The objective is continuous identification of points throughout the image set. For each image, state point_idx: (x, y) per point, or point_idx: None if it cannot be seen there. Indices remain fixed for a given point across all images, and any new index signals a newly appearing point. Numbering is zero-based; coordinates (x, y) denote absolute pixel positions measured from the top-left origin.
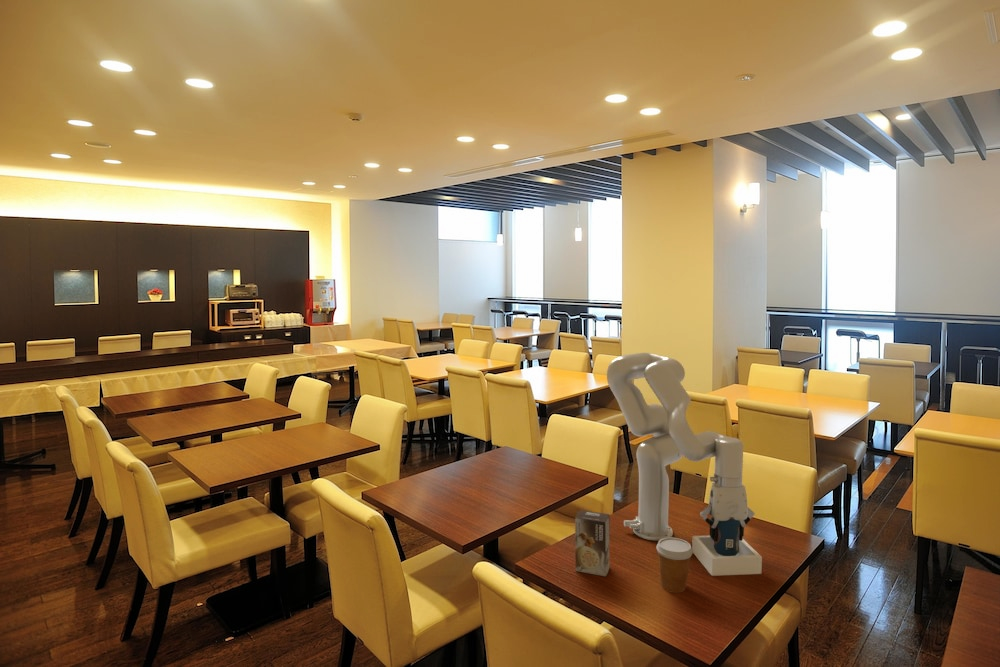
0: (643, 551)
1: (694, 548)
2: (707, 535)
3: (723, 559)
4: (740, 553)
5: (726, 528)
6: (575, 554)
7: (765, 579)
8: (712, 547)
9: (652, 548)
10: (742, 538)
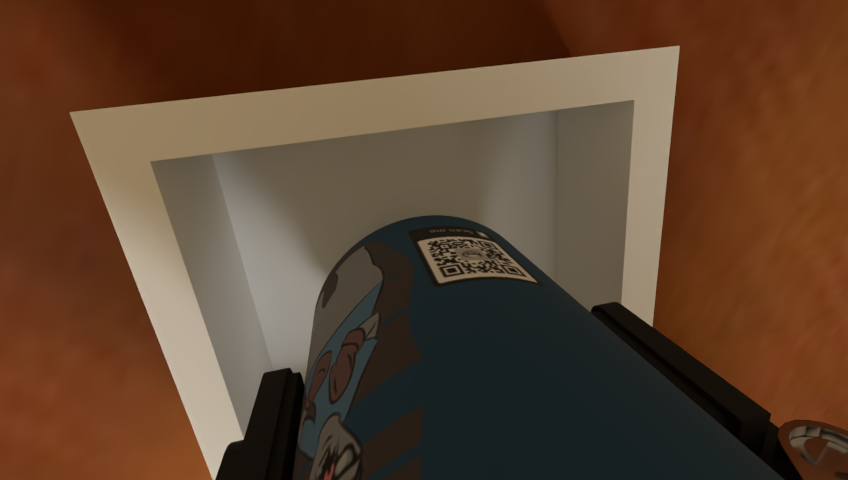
0: (816, 340)
1: None
2: None
3: (557, 60)
4: None
5: (664, 402)
6: None
7: (148, 5)
8: None
9: (758, 378)
10: (259, 386)
